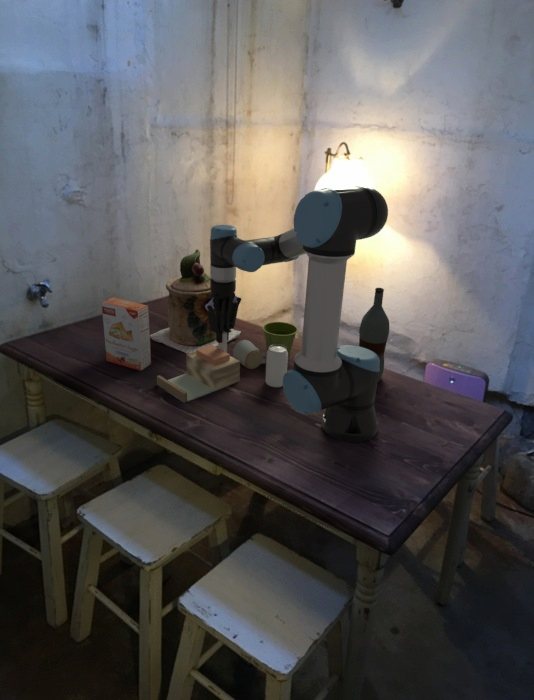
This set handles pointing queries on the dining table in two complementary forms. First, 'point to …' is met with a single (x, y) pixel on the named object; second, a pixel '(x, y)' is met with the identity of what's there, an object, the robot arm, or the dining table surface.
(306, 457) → the dining table surface
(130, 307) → the cracker box
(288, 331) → the plant pot
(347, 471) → the dining table surface
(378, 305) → the bottle
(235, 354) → the ceramic mug
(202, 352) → the orange rectangular slab
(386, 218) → the robot arm
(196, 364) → the beige rectangular slab
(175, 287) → the cookie jar
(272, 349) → the can
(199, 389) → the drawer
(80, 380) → the dining table surface
